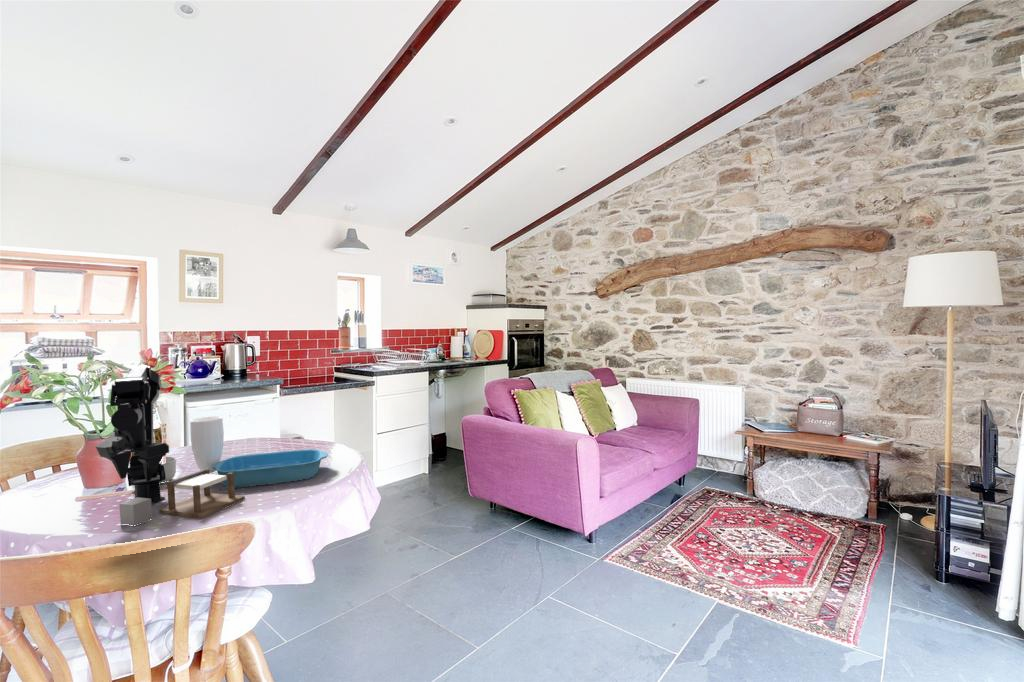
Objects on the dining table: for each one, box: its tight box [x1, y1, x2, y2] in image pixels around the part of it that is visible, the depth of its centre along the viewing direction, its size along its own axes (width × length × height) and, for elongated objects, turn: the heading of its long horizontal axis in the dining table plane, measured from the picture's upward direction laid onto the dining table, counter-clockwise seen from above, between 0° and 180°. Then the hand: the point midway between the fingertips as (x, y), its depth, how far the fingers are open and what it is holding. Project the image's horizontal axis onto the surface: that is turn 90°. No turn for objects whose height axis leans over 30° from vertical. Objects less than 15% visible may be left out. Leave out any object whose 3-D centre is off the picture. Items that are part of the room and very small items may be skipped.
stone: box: [119, 497, 153, 526], centre depth 138 cm, size 5×5×6 cm
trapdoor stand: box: [158, 469, 246, 519], centre depth 149 cm, size 16×15×9 cm
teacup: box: [158, 456, 177, 483], centre depth 172 cm, size 14×11×8 cm
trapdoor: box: [175, 473, 227, 491], centre depth 149 cm, size 8×10×1 cm
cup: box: [189, 415, 225, 474], centre depth 175 cm, size 10×10×22 cm
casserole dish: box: [212, 448, 329, 489], centre depth 176 cm, size 37×22×7 cm, turn 110°
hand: (135, 479), depth 138 cm, fingers open, 9 cm apart
